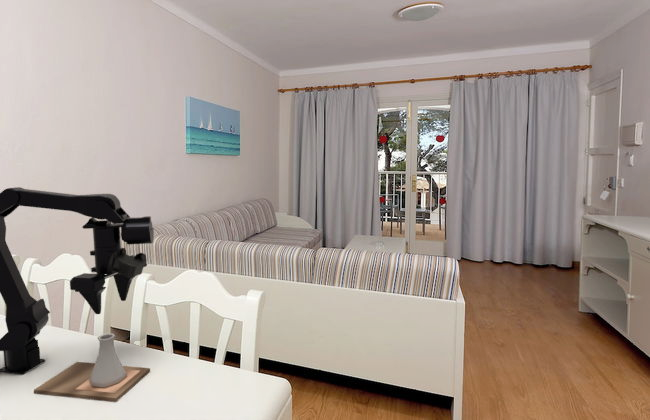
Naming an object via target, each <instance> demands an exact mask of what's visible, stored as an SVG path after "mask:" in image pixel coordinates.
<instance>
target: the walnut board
mask: <svg viewBox="0 0 650 420" xmlns="http://www.w3.org/2000/svg"><path fill="white" fill-rule="evenodd" d="M95 363H96V362H95ZM95 363H94V362H86V361H85V362H84V361H83V362H82V361H75V363H73V364H71V365H70V366H68V367H67V368H65V369H64V370H62V371H60V372H59V373H58V374H56V375H55V376H53V377H51V378H50V379H49V380H47V381H45V382H44V383H42V384H40V385H39V386H38V387H35V388H34V389H33V394H38V395H45V396H46V395H48V396H57V397H66V398H76V399H84V400H94V401H105V402H113V403H116V402H118V401H119V400H120V399H121V398H122V397H124V396H125V394H127V393H128V392H129V391H130V390H131V389H133V388H134V387H135V386H136V384H138V383H139V382H141V380H143V378H145V377H146V376H147V375H148V374H149V373H151V367H150V368H149V367H141V366H128V365H123V367H124V369H125V371H126V373H127V375H128V376H126V377H125V378H124V379H123V380H121V381H120V382H119V383H116V384H113V385H110V386H107V387H96V386H92V385H91V383H90V382H89V379H90V376H91V373H92V371H93V368H94V366H95Z"/></svg>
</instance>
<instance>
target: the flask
mask: <svg viewBox="0 0 650 420" xmlns="http://www.w3.org/2000/svg"><path fill="white" fill-rule="evenodd" d="M115 338H116V335H115V334H114V333H110V332H109V333H104V334H101V335H100V336H97V340H98V343H99V347H98V355H97V357H96V360H95V366H94V368H93V371H92V373H91V376H90V379H89V382H90V383H91V385H92V386H96V387H107V386H110V385H113V384H116V383H119V382H120V381H121V380H123V379H124V378H125V377H126V376H128V375H127V373H126V371H125V369H124V367H123V366H124V365H123V363H122V362H121V360H120V357H119V355H118V353H117V351H116V346H115V342H114V341H115V340H114V339H115Z"/></svg>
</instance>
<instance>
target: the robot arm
mask: <svg viewBox="0 0 650 420" xmlns="http://www.w3.org/2000/svg"><path fill="white" fill-rule="evenodd" d="M20 206H21V207H26V208H27V207H30V208H37V209H39V208H40V209H48V210H55V211H57V210H58V211H59V210H60V211H67V212H74V213H77V214H79V215H82V216H85V217H89V219H88V221H87V222H86V223H85V224H84V225H82V229H84V230H85V229H86V230H87V229H88V230H89V229H92V235H93V236H92V237H93V250H90V251H89V254H90V256H94V265H95V266H93V267H91V268H90V269H91V270H90V271H91V273H90V272H89V273H85V272H84V273H82V274H78V275H76V276H73V277H72V278H71V279H70V280H69V289H70V290H71V291H75V292H76V293H79V294H80V295H81V296H82V297H83V298H84V300H85V301H86V302H87V304H88V305H89V307H90V308H91V309H92V312H93V313H94V314H95V315H100V314H101V312H102V293H103V292H104V291H105V290H106V288H107V287H106V286H104V285H105V284H106V279H109V278H111V277H113V279H114V282H115V285H116V289H117V293H118V296H119V299H120V300H121V301H122V302H124V301H126V300H127V298H128V293H129V290H130V287H131V284H132V282H133V281H132V280H133V279H134V278H135V277H136V276H140V275H142V274H143V270H144V268H146V267H147V266H148V264H147V261H148V260H147V254H146V253H143V252H139V253H136V254H135V255H134V254H132V255H129V254H127V250H126V248H125V247H122V245H121V240H122V241H123V242H124V243H126V245H128V246H129V245H143V244H144V245H145V244H146V245H148V244H150V245H151V244H153V243H154V237H155V236H154V233H155V232H154V231H155V230H154V229H155V228H154V227H153V222H152V216H148V215H147V216H141V217H131V216H130V215H129V213H127V211H125V209H124V208H122V206H121V201H120V199H119V198H118V197H117V196H116V195H115V194H112V193H94V194H93V193H91V194H89V193H88V194H71V193H62V192H54V191H45V190H36V189H27V188H23V187H20V186H18V187H16V186H15V187H8V188H5V189H3V190H2V191H1V192H0V295H1V297H2V299H3V302H4V304H5V307H6V308H5V319H4V320H5V325H6V329H7V332H6V333H5V334H4V335H3V336H2V337H1V338H0V352H3V362H4V366H3V367H1V368H0V373H3V374H11V375H12V374H14V375H23V374H26V373H27V372H29V371H31V370H32V369H34V368H36V367H37V366H40V365H41V364H43V363H45V362H46V359H45V358H41V353H40V352H41V351H40V350H41V349H40V346H39V339H36V337H37V336H38V335H40V333H41V331H42V329H43V328H45V327H46V326H47V324H48V322H49V318H50V317H49V315H50V313H51V312H50V310H49V309H48V308H47V307H46V302H45V300H44V298H39V299H38V300H37V299H35V298H34V297H33V296H31V294H30V293H29V291H28V288H27V286H26V283H25V282H24V279H23V277H22V275H21V273H20V270H19V268H18V265H17V263H16V261H15V259H14V257H13V255H12V253H11V251H10V248H9V246H8V243H7V242H6V241H7V240H6V235H7V234H6V233H7V225H6V222H5V218H7V217H8V216H9V215H11V214H12V213H13V212H15V211H16V210H17V209H18V207H20Z"/></svg>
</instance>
